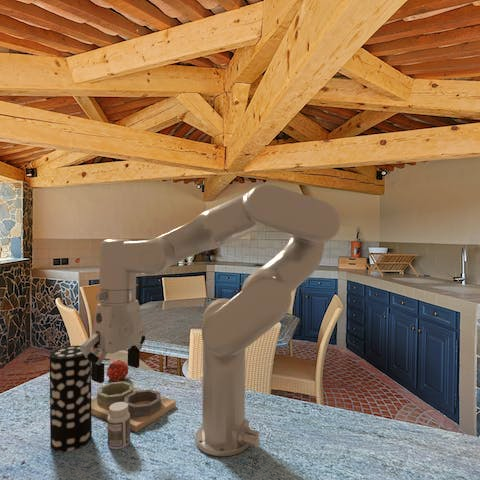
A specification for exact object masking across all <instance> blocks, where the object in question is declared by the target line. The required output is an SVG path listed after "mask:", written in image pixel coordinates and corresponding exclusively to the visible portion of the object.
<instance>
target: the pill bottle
mask: <svg viewBox="0 0 480 480" xmlns="http://www.w3.org/2000/svg"><path fill="white" fill-rule="evenodd" d="M106 421H107V427H106V428H107V447H108V448H109V449H112V450H121V449H123V448H126V447H127V446H128V445H129V444H130V442H131V430H130V413H129V412H128V404H127V403H126V402H116V403H114V404H112V405H110V407H109V416H108V418H107V420H106Z"/></svg>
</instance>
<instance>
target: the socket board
mask: <svg viewBox="0 0 480 480" xmlns="http://www.w3.org/2000/svg"><path fill="white" fill-rule="evenodd" d="M176 401H177V400H173V399H170V398H167V397H164V396H162V395H161V392H159V391H157V390H154V389H139V388H136V387H134V384H133V383H131V382H127V381H125V380H124V381H123V380H121V381H118V382H115V381H112V382H108V383H106V384H104V385H102V386H100V387H98V390H97V393H96V396H95V397H94V398H93V397H92V398H91V413H92V415H93V416H95V417H97V418H100V419H102V420H105V421H107V418H108V416H109V407H110V405H112V404H114V403H116V402H126V403H127V404H128V412H129V413H130V431H132V432H134V433H137V432H139V431H140V430H142V429H143V428H145V427H147V426H148V425H150V424H151V423H153V422H154V421H156V420H157V419H159V418H161V417H163V416H164V415H165V414H167V413H168V412H170V411H172V410H173V409H174V408H176V407H177V402H176Z"/></svg>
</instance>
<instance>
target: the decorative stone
mask: <svg viewBox="0 0 480 480" xmlns="http://www.w3.org/2000/svg"><path fill="white" fill-rule="evenodd" d="M128 374H129V366H128V363H126V362H125V361H122V360H119V359H118V360H115V361H114V362H111V363H110V364H109V366H108V367H107V370H106V377H107V378H108V379H110V380H111V381H112V382H121V381H123V380H124V379H126V377H127V376H128Z"/></svg>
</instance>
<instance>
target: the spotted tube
mask: <svg viewBox="0 0 480 480" xmlns="http://www.w3.org/2000/svg"><path fill="white" fill-rule="evenodd" d="M80 346H81V345H69V346H64V347H63V346H62V347H59V348H56V349H55V350H52V351H51V352H50V353H49V415H50V416H49V417H50V418H49V419H50V420H49V421H50V422H49V423H50V425H49V430H50V431H49V437H50V448H51V449H52V450H53V451H56V452H61V453H64V452H72V451H75V450H78V449H80V448H82V447H84V446H86V445H87V444H88V443H89V442H90V441H91V440H92V437H93V435H92V433H93V429H92V425H93V424H92V421H93V419H92V415H93V414H92V413H91V399H92V377H91V362H89V361H88V360H87V359H86V358H85V357H84V354H83V353H82V351H81V349H80Z"/></svg>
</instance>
